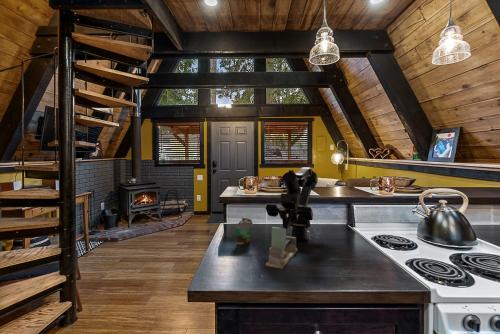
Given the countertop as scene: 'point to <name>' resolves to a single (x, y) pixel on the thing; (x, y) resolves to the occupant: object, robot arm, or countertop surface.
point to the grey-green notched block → (279, 238)
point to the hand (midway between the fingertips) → (284, 230)
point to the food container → (243, 232)
